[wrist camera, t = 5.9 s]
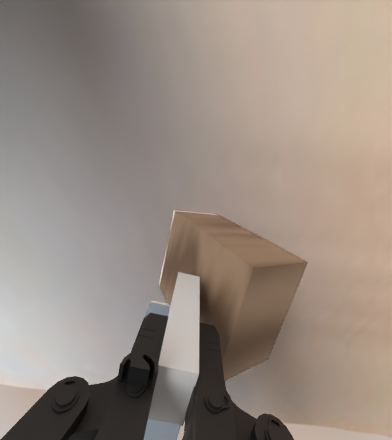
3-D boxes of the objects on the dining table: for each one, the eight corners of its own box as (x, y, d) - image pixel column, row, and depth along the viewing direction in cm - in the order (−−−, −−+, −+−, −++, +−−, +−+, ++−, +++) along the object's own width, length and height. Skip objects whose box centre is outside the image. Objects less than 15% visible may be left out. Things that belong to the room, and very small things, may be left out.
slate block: (151, 300, 23) (116, 393, 14) (192, 308, 23) (186, 406, 14) (140, 352, 25) (104, 465, 16) (178, 359, 25) (165, 476, 16)
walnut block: (173, 210, 18) (253, 267, 10) (216, 214, 20) (307, 262, 12) (158, 285, 20) (213, 385, 12) (199, 280, 22) (267, 358, 14)
